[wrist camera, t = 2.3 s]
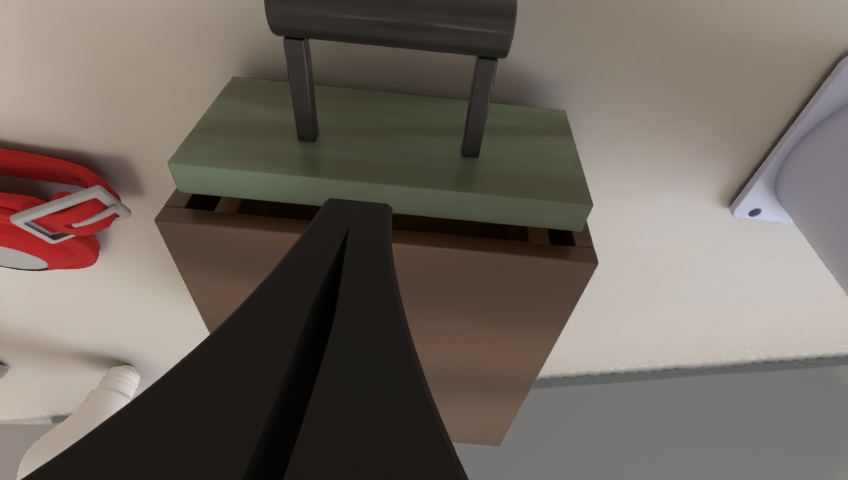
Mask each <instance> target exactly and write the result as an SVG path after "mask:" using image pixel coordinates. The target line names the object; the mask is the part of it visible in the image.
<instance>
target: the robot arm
mask: <svg viewBox="0 0 848 480" xmlns="http://www.w3.org/2000/svg"><path fill="white" fill-rule="evenodd" d="M392 209H393V208H392V207H391V206H390V205H389V204H387V203H377V202H367V201H357V200H347V199H337V198H329V199H328V200H326V201H325V202H324V204H323V205H322V207H321V208H320V210H319V211H318V213H317V214H316V216H315V217H314V218H313V220H312V221H311V223H310V224H309V225H308V227H307V228H306V229H305V231H304V232H303V233H302V234H301V236H300V237H299V238H298V240H297V241H296V242H295V244H294V245H293V246H292V247H291V248H290V250H289V251H288V252H287V253H286V254H285V256H284V257H283V258H282V259H281V260H280V262H279V263H278V264H277V265H276V266H275V268H274V269H273V270H272V271H271V272H270V273H269V275H268V276H267V277H266V278H265V279H264V280H263V281H262V282H261V283H260V284H259V285H258V287H257V288H256V289H255V290H254V291H253V292H252V293H251V294H250V295H249V296H248V297H247V298H246V299H245V301H244V302H243V303H242V304H241V305H240V306H239V307H238V308H237V309H236V310H235V311H234V312H233V313H232V314H231V315H230V316H229V317H228V318H227V319H226V320H225V321H224V322H223V323H222V324H221V325H220V326H219V327H218V328H217V329H215V330H214V331H213V332H212V333H211V334H210V335H209V336H208V337H207V338H206V339H205V340H204V341H202V342H201V343H200V344H199V345H198V346H197V347H196V348H195V349H194V350H193V351H191V352H190V353H189V354H188V355H187V356H185V357H184V358H183V359H182V360H181V361H180V362H178V363H177V364H176V365H175V366H174V367H173V368H171V369H170V370H169V371H168V372H167V373H166V374H164V375H163V376H162V377H161V378H160V379H158V380H157V381H156V382H155V383H153V384H152V385H151V386H150V387H148V388H147V389H146V390H145V391H143V392H142V393H141V394H140V395H138V396H137V397H136V398H134V399H133V400H132V401H130V402H129V403H128V404H126V405H125V406H124V407H122V408H121V409H120V410H118V411H117V412H116V413H114V414H113V415H112V416H110V417H109V418H108V419H106V420H105V421H104V422H102V423H101V424H100V425H98V426H97V427H96V428H94V429H93V430H92V431H90V432H89V433H87V434H86V435H85V436H83V437H82V438H81V439H79V440H78V441H77V442H75V443H74V444H72V445H71V446H70V447H68V448H67V449H65V450H64V451H62V452H61V453H60V454H58V455H57V456H55V457H54V458H52V459H51V460H49V461H48V462H46V463H45V464H43V465H42V466H40V467H39V468H37V469H36V470H34V471H33V472H31V473H30V474H28V475H27V476H25V477H24V478H22V479H21V480H469V479H468V477H467V475H466V473H465V471H464V469H463V466H462V464H461V462H460V460H459V458H458V456H457V454H456V451H455V449H454V446H453V444H452V442H451V439H450V437H449V435H448V432H447V430H446V428H445V425H444V423H443V420H442V418H441V416H440V413H439V411H438V409H437V406H436V404H435V401H434V399H433V396H432V394H431V391H430V388H429V385H428V383H427V380H426V377H425V375H424V372H423V369H422V366H421V363H420V360H419V357H418V354H417V351H416V348H415V345H414V342H413V339H412V336H411V332H410V329H409V325H408V322H407V318H406V314H405V311H404V307H403V303H402V299H401V294H400V290H399V285H398V280H397V275H396V270H395V265H394V258H393V250H392V241H391V238H392ZM753 209H754V210H753ZM729 210H730V213H731V214H732V216H733V217H734V218H738V219H748V220H758V221H768V222H778V223H788V224H795V225H796V226H797V227H798V229H799V230H800V232H801V233H802V234H803V236H804V237H805V238H806V240H807V241H808V242H809V244H810V245H811V247H812V248H813V249H814V251H815V252H816V253H817V255H818V256H819V257H820V259H821V260H822V262H823V263H824V264H825V266H826V267H827V268H828V270H829V271H830V273H831V274H832V275H833V277H834V278H835V279H836V281H837V282H838V283H839V285H840V286H841V288H842V289H843V290H844V292H845V293H846V294H847V296H848V56H846V57H845V58H843V59H842V60H841V61H840V62H839V63H838V65H837V66H836V67H835V69H834V70H833V71H832V73H831V74H830V75H829V77H828V78H827V79H826V81H825V82H824V83H823V85H822V86H821V87H820V88H819V90H818V91H817V92H816V94H815V95H814V96H813V98H812V99H811V100H810V102H809V103H808V104H807V106H806V107H805V108H804V110H803V111H802V112H801V114H800V115H799V116H798V118H797V119H796V120H795V122H794V123H793V124H792V125H791V127H790V128H789V129H788V131H787V132H786V133H785V135H784V136H783V137H782V139H781V140H780V141H779V143H778V144H777V145H776V147H775V148H774V149H773V151H772V152H771V153H770V155H769V156H768V157H767V158H766V160H765V161H764V162H763V164H762V165H761V166H760V168H759V169H758V170H757V172H756V173H755V174H754V176H753V177H752V178H751V180H750V181H749V182H748V184H747V185H746V186H745V188H744V189H743V190H742V191H741V193H740V194H739V195H738V197H737V198H736V199H735V201H734V202H733V203H732V205H731V206H730V208H729ZM751 210H752V211H751Z"/></svg>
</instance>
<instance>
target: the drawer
mask: <svg viewBox="0 0 848 480" xmlns="http://www.w3.org/2000/svg"><path fill="white" fill-rule="evenodd" d="M264 4H265V12H266V18H267V22H268V25H269V28H270V30H271V31H272V33H273V34H275V35H277V36H285V37H284V38H283V42H284V48H285V55H286V62H287V69H288V76H289V82H282V81H272V80H262V79H252V78H242V77H232V78H231V80H230V81H229V82H228V84H227V85H226V86H225V88H224V89H223V90H222V92H221V93H220V94H219V96H218V97H217V98H216V100H215V101H214V102H213V103H212V105H211V106H210V107H209V109H208V110H207V111H206V113H205V114H204V115H203V117H202V118H201V119H200V121H199V122H198V123H197V125H196V126H195V127H194V128H193V130H192V131H191V132H190V134H189V135H188V136H187V138H186V139H185V140H184V142H183V143H182V144H181V146H180V147H179V148H178V150H177V151H176V152H175V153H174V155H173V156H172V157H171V159H170V160H169V161H168V166H169V168H170V171H171V173H172V176H173V178H174V181H175V183H176V186H177V188H178V190H179V192H182V193H192V194H203V195H213V196H222V198H221V199H220V201H219V203H218V205H217V206H216V208H215V210H214V211H215V212H226V213H236V214H246V215H256V216H267V217H277V218H287V219H297V220H307V221H312V220H313V218H314V217H315V216H316V214H317V213H318V211H319V210H320V208H321V207H322V205H323V204H324V202H325V201H326V200H328V199H329V198H337V199H347V200H357V201H367V202H377V203H387V204H389V205H390V206H391V207H392V208H393V209H392V229H399V230H409V231H420V232H430V233H440V234H450V235H461V236H471V237H481V238H491V239H501V240H512V241H522V242H532V243H542V244H550V240H549V235H548V229H558V230H569V231H579V232H580V231H582V229H583V227H584V224H585V222H586V220H587V218H588V216H589V214H590V211H591V209H592V207H593V202H592V199H591V195H590V192H589V189H588V185H587V182H586V179H585V175H584V172H583V169H582V165H581V162H580V159H579V155H578V152H577V149H576V145H575V142H574V138H573V135H572V132H571V128H570V125H569V122H568V118H567V115H566V112H565V110H557V109H547V108H538V107H528V106H518V105H508V104H498V103H490V98H491V93H492V88H493V83H494V78H495V73H496V68H497V63H498V59H497V58H501V59H504V58H506V57H507V55H508V53H509V51H510V48H511V44H512V40H513V35H514V29H515V23H516V15H517V0H264ZM309 39H316V40H326V41H335V42H345V43H355V44H364V45H374V46H384V47H394V48H403V49H413V50H423V51H433V52H442V53H452V54H462V55H472V56H476V59H475V65H474V72H473V78H472V84H471V90H470V96H469V100H459V99H449V98H439V97H429V96H419V95H410V94H400V93H390V92H380V91H370V90H360V89H351V88H341V87H331V86H321V85H314V82H313V73H312V63H311V54H310V44H309ZM547 228H548V229H547Z"/></svg>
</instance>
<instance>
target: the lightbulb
mask: <svg viewBox="0 0 848 480" xmlns="http://www.w3.org/2000/svg"><path fill="white" fill-rule="evenodd" d="M139 381H140V376H139V374H138V373H137V372H135V368H134V367H132V366H129V365H122V366H121V367H113V368H111V369H109V370H108V371H107V373H106V374H105V376H104V377H103V379H102V380H101V381H100V383H99V385H98V386H97V388H96V389H95V390H93V391H91V392H90V393H89V395H88V396H87V398H86V399H85V401H84V402H83V403H82V404H81V405H80V407H79V408H78V409H77V410H76V411H75V412H74V413H73V414H72V415H71V416H70V417H68V418H67V419H66V420H65V421H64V422H62V423H61V424H59V425H58V426H56V427H55V428H54V429H52V430H50V431H49V432H48V433H47V434H45V435H44V436H43V437H41V438H40V439H39V440H37V441H36V442H35V443H34V444H33V445H32V446H31V447H30V449H29V450H28V451H27V452H26V454H25V456H24V457H23V459H22V461H21V464H20V466H19V469H18V474H17V480H21V479H22V478H24V477H25V476H27V475H28V474H30V473H31V472H33V471H34V470H36V469H37V468H39V467H40V466H42V465H43V464H45V463H46V462H48V461H49V460H51V459H52V458H54V457H55V456H57V455H58V454H60V453H61V452H62V451H64V450H65V449H67V448H68V447H70V446H71V445H72V444H74V443H75V442H77V441H78V440H79V439H81V438H82V437H83V436H85V435H86V434H87V433H89V432H90V431H92V430H93V429H94V428H96V427H97V426H98V425H100V424H101V423H102V422H104V421H105V420H106V419H108V418H109V417H110V416H112V415H113V414H114V413H116V412H117V411H118V410H120V409H121V408H122V407H124V406H125V405H126V404H128V403H129V402H130V401H131V399H132V397H133V395H134V392H135V391H136V388H137V386H138V383H139Z"/></svg>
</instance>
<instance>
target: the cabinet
mask: <svg viewBox="0 0 848 480" xmlns="http://www.w3.org/2000/svg"><path fill="white" fill-rule="evenodd" d="M221 198H222V196H213V195H203V194H192V193H182V192H179V190H178V188H176V189H175V191H174V192H173V194H172V195H171V197H170V198H169V199H168V201H167V202H166V204H165V207H163V208H162V210H161V211H160V213H159V214H158V215H157V217H156V218H155V223H156V225H157V227H158V229H159V231H160V233H161V235H162V237H163V239H164V241H165V243H166V245H167V247H168V249H169V251H170V253H171V256H172V258H173V260H174V262H175V264H176V266H177V268H178V270H179V272H180V274H181V276H182V278H183V280H184V282H185V284H186V286H187V288H188V290H189V292H190V294H191V296H192V298H193V300H194V303H195V305H196V307H197V309H198V311H199V313H200V315H201V317H202V319H203V321H204V323H205V325H206V327H207V329H208V331H209V333H210V334H211V333H212V332H213V331H214V330H215V329H217V328H218V327H219V326H220V325H221V324H222V323H223V322H224V321H225V320H226V319H227V318H228V317H229V316H230V315H231V314H232V313H233V312H234V311H235V310H236V309H237V308H238V307H239V306H240V305H241V304H242V303H243V302H244V301H245V299H246V298H247V297H248V296H249V295H250V294H251V293H252V292H253V291H254V290H255V289H256V288H257V287H258V285H259V284H260V283H261V282H262V281H263V280H264V279H265V278H266V277H267V276H268V275H269V273H270V272H271V271H272V270H273V269H274V268H275V266H276V265H277V264H278V263H279V262H280V260H281V259H282V258H283V257H284V256H285V254H286V253H287V252H288V251H289V250H290V248H291V247H292V246H293V245H294V244H295V242H296V241H297V240H298V238H299V237H300V236H301V234H302V233H303V232H304V231H305V229H306V228H307V227H308V225H309V224H310V223H311V221H307V220H297V219H287V218H277V217H267V216H256V215H246V214H236V213H226V212H215V211H214V210H215V208H216V206H217V205H218V203H219V201H220V199H221ZM547 229H548V228H547ZM548 235H549V240H550V244H542V243H532V242H522V241H512V240H501V239H491V238H481V237H471V236H461V235H450V234H440V233H430V232H420V231H409V230H399V229H392V238H391V241H392V250H393V258H394V265H395V270H396V275H397V280H398V285H399V290H400V294H401V299H402V303H403V307H404V311H405V314H406V318H407V322H408V325H409V329H410V332H411V336H412V339H413V342H414V345H415V348H416V351H417V354H418V357H419V360H420V363H421V366H422V369H423V372H424V375H425V377H426V380H427V383H428V385H429V388H430V391H431V394H432V396H433V399H434V401H435V404H436V406H437V409H438V411H439V413H440V416H441V418H442V420H443V423H444V425H445V428H446V430H447V432H448V435H449V437H450V439H451V442H458V443H469V444H479V445H490V446H500V445H501V443H502V441H503V439H504V437H505V435H506V434H507V432H508V430H509V428H510V426H511V424H512V422H513V421H514V419H515V417H516V415H517V413H518V411H519V409H520V408H521V406H522V404H523V402H524V400H525V398H526V397H527V394H528V393H529V391H530V389H531V387H532V386H533V384H534V382H535V380H536V378H537V376H538V375H539V373H540V371H541V369H542V367H543V365H544V363H545V362H546V360H547V358H548V356H549V354H550V352H551V351H552V349H553V347H554V345H555V343H556V341H557V339H558V338H559V336H560V334H561V332H562V330H563V328H564V327H565V325H566V323H567V321H568V319H569V317H570V316H571V314H572V312H573V310H574V308H575V306H576V304H577V303H578V301H579V299H580V297H581V295H582V293H583V292H584V290H585V288H586V286H587V284H588V282H589V280H590V279H591V277H592V275H593V273H594V271H595V269H596V268H597V266H598V259H597V256H596V252H595V249H594V246H593V242H592V238H591V235H590V231H589V227H588V224H587V220H586V222H585V224H584V227H583V229H582V231H580V232H579V231H569V230H558V229H548Z"/></svg>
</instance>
